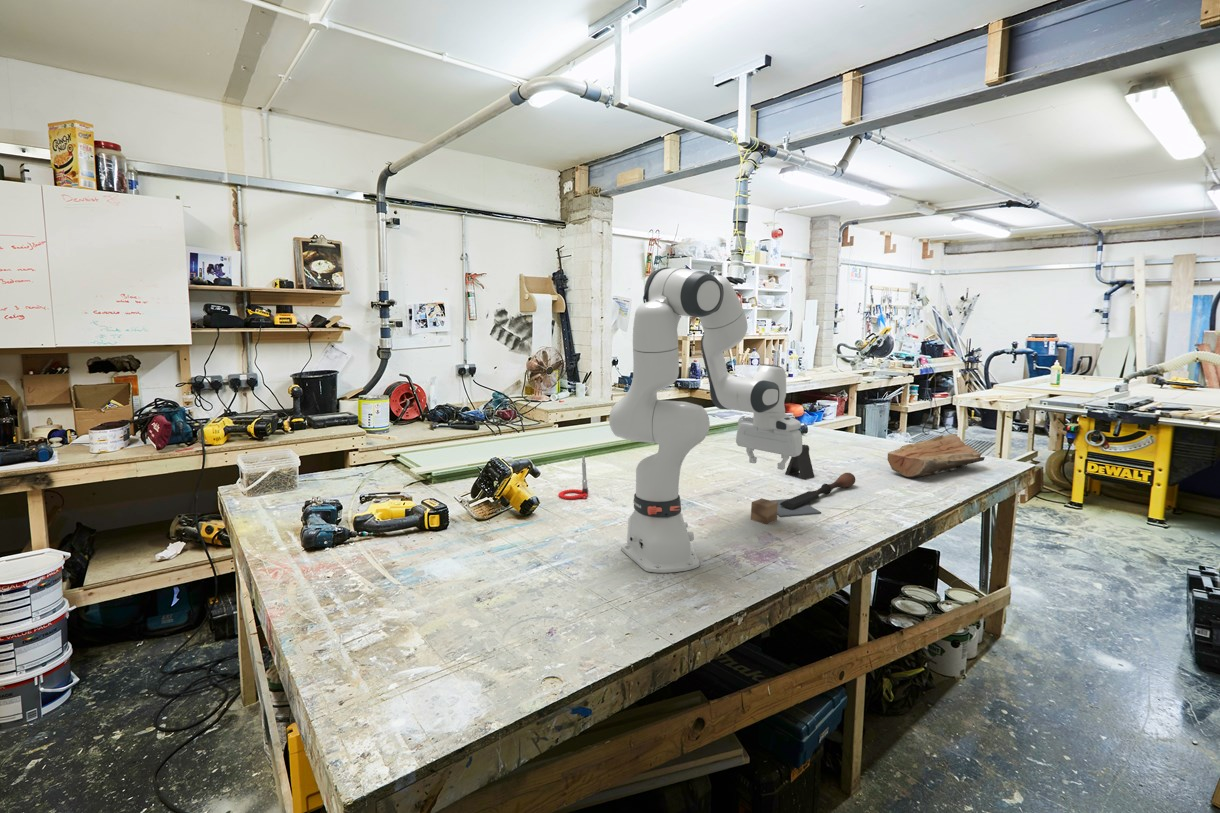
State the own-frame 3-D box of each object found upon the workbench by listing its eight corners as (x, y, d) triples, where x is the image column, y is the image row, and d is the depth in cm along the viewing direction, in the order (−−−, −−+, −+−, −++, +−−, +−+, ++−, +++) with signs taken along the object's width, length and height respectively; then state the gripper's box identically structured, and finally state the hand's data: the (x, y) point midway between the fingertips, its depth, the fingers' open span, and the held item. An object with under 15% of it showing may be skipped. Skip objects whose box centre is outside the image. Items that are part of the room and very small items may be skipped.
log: (952, 459, 241) (949, 426, 239) (995, 466, 226) (992, 430, 223) (885, 487, 224) (881, 451, 222) (926, 496, 208) (923, 458, 206)
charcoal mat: (821, 513, 175) (821, 512, 175) (780, 517, 172) (780, 515, 172) (796, 499, 189) (796, 498, 189) (758, 502, 185) (758, 501, 185)
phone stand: (814, 477, 215) (816, 446, 214) (804, 480, 212) (806, 448, 210) (795, 472, 223) (796, 442, 221) (784, 474, 219) (786, 444, 218)
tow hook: (556, 501, 187) (586, 500, 187) (554, 460, 185) (584, 459, 185) (560, 493, 196) (589, 492, 196) (558, 454, 194) (587, 453, 194)
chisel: (857, 486, 204) (859, 473, 203) (792, 515, 177) (794, 500, 175) (844, 482, 208) (846, 469, 207) (778, 509, 180) (780, 495, 179)
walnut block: (776, 520, 170) (777, 502, 169) (766, 524, 166) (767, 506, 165) (760, 515, 174) (761, 498, 173) (750, 519, 170) (751, 502, 169)
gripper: (732, 416, 170) (730, 461, 173) (795, 426, 156) (792, 474, 158) (744, 414, 175) (742, 457, 177) (806, 423, 160) (803, 470, 162)
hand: (766, 465), depth 167 cm, fingers open, 8 cm apart
